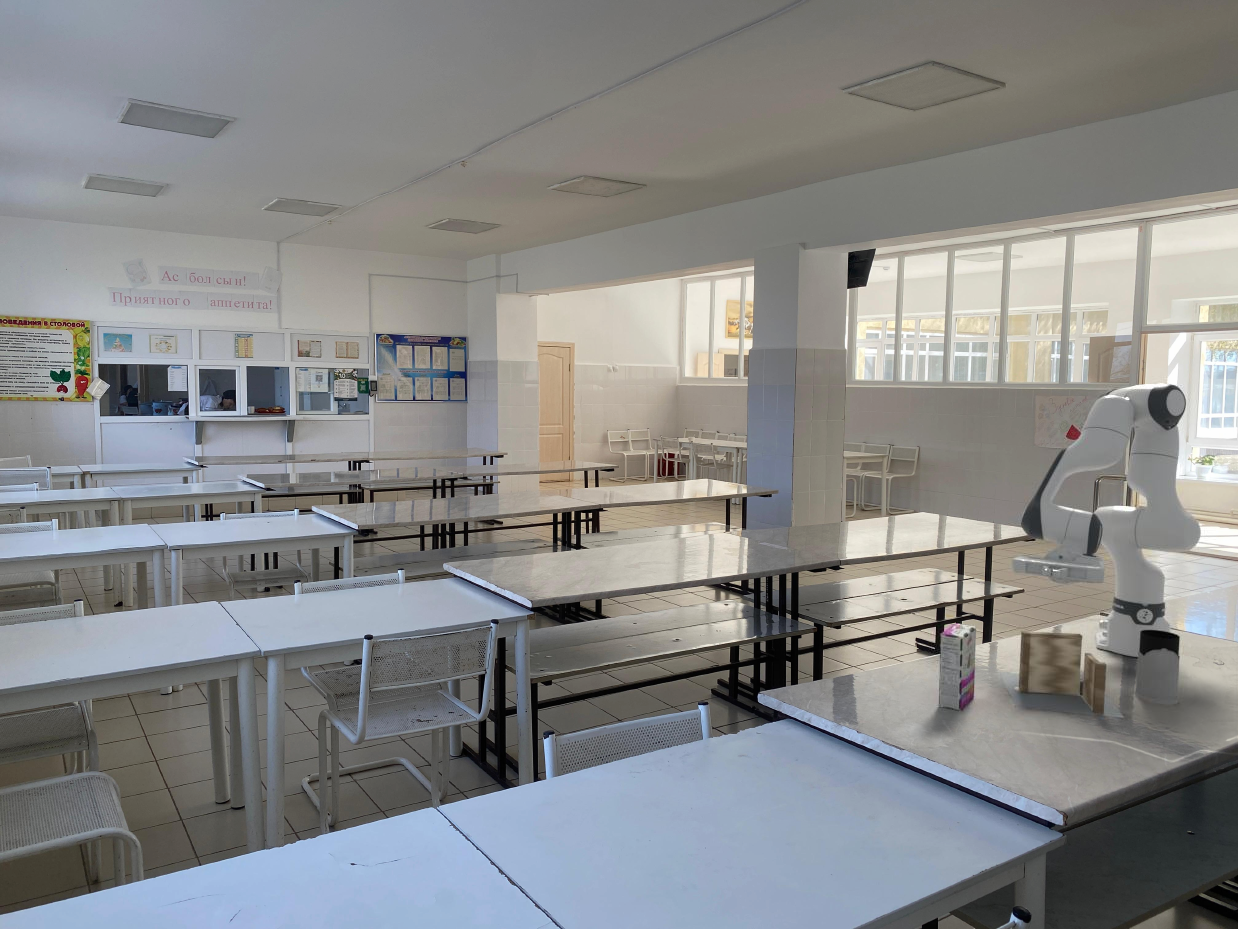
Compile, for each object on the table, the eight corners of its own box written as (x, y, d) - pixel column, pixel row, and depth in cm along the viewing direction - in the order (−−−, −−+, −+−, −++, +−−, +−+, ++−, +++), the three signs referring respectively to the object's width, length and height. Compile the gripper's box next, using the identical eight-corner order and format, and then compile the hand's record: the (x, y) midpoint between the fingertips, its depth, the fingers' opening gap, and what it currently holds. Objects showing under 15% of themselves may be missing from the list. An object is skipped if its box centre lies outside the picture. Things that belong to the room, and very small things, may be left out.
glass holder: (1138, 703, 187) (1142, 637, 186) (1123, 683, 201) (1126, 621, 200) (1184, 708, 185) (1188, 641, 184) (1165, 688, 198) (1169, 625, 197)
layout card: (999, 673, 207) (999, 671, 207) (1095, 682, 201) (1095, 680, 201) (1015, 708, 183) (1015, 706, 183) (1124, 720, 177) (1124, 717, 177)
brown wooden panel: (1076, 692, 192) (1079, 633, 191) (1079, 695, 190) (1082, 635, 189) (1018, 689, 194) (1021, 631, 193) (1021, 692, 192) (1024, 633, 191)
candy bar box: (951, 693, 193) (954, 622, 192) (974, 697, 190) (977, 626, 189) (936, 706, 184) (939, 632, 183) (960, 711, 181) (963, 636, 180)
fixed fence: (1078, 693, 192) (1080, 647, 191) (1086, 694, 192) (1089, 647, 191) (1094, 713, 180) (1096, 663, 179) (1103, 714, 179) (1106, 664, 179)
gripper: (1018, 548, 218) (1005, 555, 207) (1109, 557, 205) (1100, 566, 194) (1017, 572, 218) (1004, 581, 207) (1107, 583, 206) (1099, 593, 195)
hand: (1051, 573), depth 201 cm, fingers closed
